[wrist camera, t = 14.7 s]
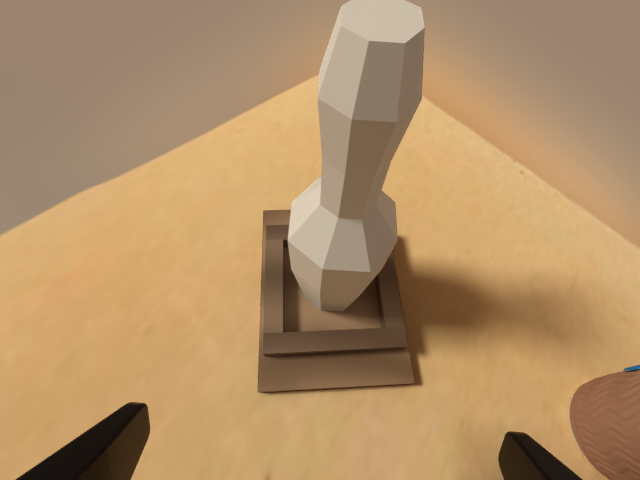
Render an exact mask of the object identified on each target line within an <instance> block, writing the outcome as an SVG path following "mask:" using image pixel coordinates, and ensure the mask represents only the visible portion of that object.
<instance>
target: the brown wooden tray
mask: <svg viewBox="0 0 640 480" xmlns="http://www.w3.org/2000/svg"><path fill="white" fill-rule="evenodd" d="M290 213H291V210H268V211H263V238H262V270H261V302H260V334H259V366H258V392H275V391H292V390H310V389H328V388H346V387H364V386H381V385H399V384H413V383H415V382H414V376H413V370H412V364H411V358H410V352H409V346H408V340H407V334H406V328H405V322H404V316H403V311H402V305H401V299H400V293H399V287H398V281H397V275H396V269H395V263H394V257H393V251H392V252H391V254H390V255H389V257H388V259H387V261H386V263H385V265H384V266H383V268H382V270H381V271H380V272H379V273H378V274H377V275H376V277H375V278H374V279H373V280H372V281H371V283H370V284H369V285H368V286H367V287H366V289H365V290H364V291H363V292H362V293H361V294H360V296H359V297H358V298H357V299H356V300H354V301H353V302H352V303H351V304H350V305H349V306H348V307H347V308H346V309H345V310H344V311H343V312H339V311H322V310H320V309H319V308H318V307H316V306H315V305H314V304H313V303H312V302H311V301H310V300H308V299H307V298H306V297H305V296H304V294H303V292H302V290H301V288H300V286H299V284H298V282H297V280H296V278H295V276H294V274H293V272H292V270H291V264H290V256H289V248H288V232H289V223H290Z"/></svg>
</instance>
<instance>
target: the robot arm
mask: <svg viewBox="0 0 640 480" xmlns="http://www.w3.org/2000/svg"><path fill="white" fill-rule="evenodd" d="M149 433H150V422H149V414H148V407H147V405H146V404H145V403H137V402H130V403H127V404H125V405H124V406H122V407H121V408H120V409H118V410H117V411H115V412H114V413H112V414H111V415H109V416H108V417H106V418H105V419H103V420H102V421H101V422H99V423H98V424H96V425H95V426H93V427H92V428H90V429H89V430H87V431H86V432H84V433H83V434H81V435H80V436H79V437H77V438H76V439H74V440H73V441H71V442H70V443H68V444H67V445H65V446H64V447H62V448H61V449H60V450H58V451H57V452H55V453H54V454H52V455H51V456H49V457H48V458H46V459H45V460H43V461H42V462H41V463H39V464H38V465H36V466H35V467H33V468H32V469H30V470H29V471H27V472H26V473H24V474H23V475H22V476H20V477H19V478H17V479H16V480H131V477H132V475H133V473H134V470H135V468H136V466H137V463H138V461H139V459H140V456H141V454H142V452H143V449H144V447H145V444H146V442H147V440H148V437H149ZM498 459H499V466H500V469H501V472H502V475H503V478H504V480H582V479H581V478H580V477H579V476H577V475H576V474H575V473H574V472H573V471H571V470H570V469H569V468H568V467H567V466H565V465H564V464H563V463H562V462H560V461H559V460H558V459H557V458H556V457H554V456H553V455H552V454H551V453H549V452H548V451H547V450H546V449H545V448H543V447H542V446H541V445H540V444H538V443H537V442H536V441H535V440H534V439H532V438H531V437H530V436H529V435H527V434H526V433H523V432H511V431H510V432H507V433H506V435H505V437H504V440H503V443H502V446H501V449H500V452H499V458H498Z"/></svg>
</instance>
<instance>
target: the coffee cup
mask: <svg viewBox="0 0 640 480" xmlns="http://www.w3.org/2000/svg"><path fill="white" fill-rule="evenodd" d="M567 416H568V424H569V428H570V431H571V435H572V437H573V439H574V441H575V444H576V446H577V447H578V449H579V450H580V452H581V453H582V455H583V456H584V457H585V459H586V460H587V461H588V462H589V463H590V464H591V465H592V466H593V467H594V468H595V469H596V470H597V471H598V472H600V473H601V474H602V475H604V476H605V477H607V478H608V479H610V480H640V365H637V366H633V367H628V368H625V369H624V370H623V371H622V372H618V373H614V374H610V375H606V376H603V377H599V378H595V379H593V380H591V381H589V382H587V383H585V384H583V385H581V386H579V387H578V388H577V389H576V390H575V391H574V393H573V394H572V396H571V398H570V401H569V404H568V413H567Z"/></svg>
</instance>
